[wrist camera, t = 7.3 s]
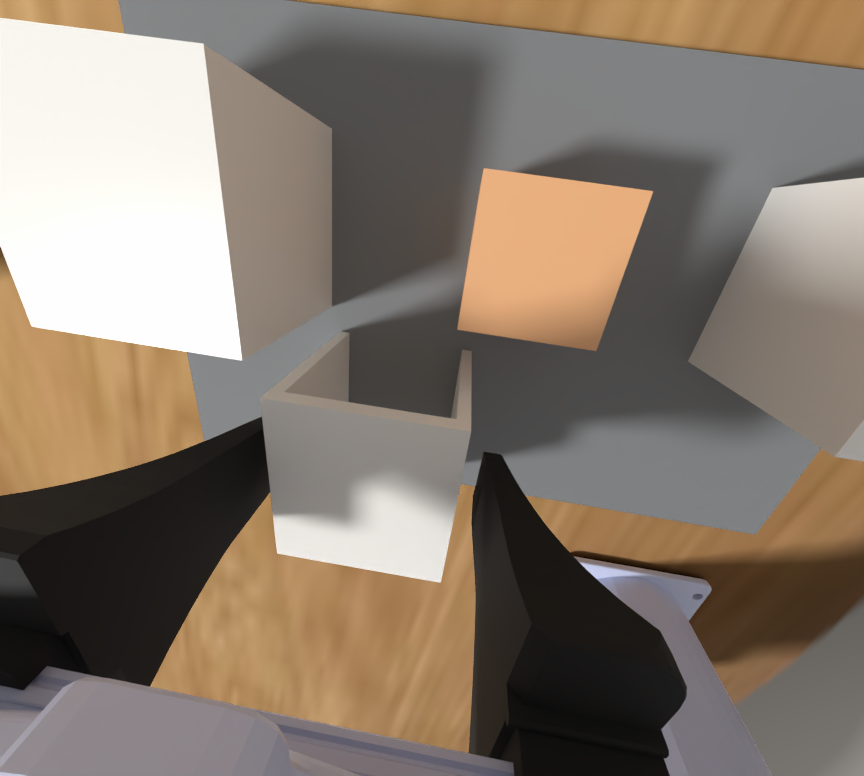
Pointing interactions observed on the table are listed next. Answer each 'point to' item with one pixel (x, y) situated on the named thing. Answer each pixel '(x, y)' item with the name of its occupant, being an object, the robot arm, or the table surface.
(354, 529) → the white u-channel shell
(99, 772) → the robot arm
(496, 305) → the cube
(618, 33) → the table surface
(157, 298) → the arch left
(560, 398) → the mat
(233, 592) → the table surface
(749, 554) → the table surface
